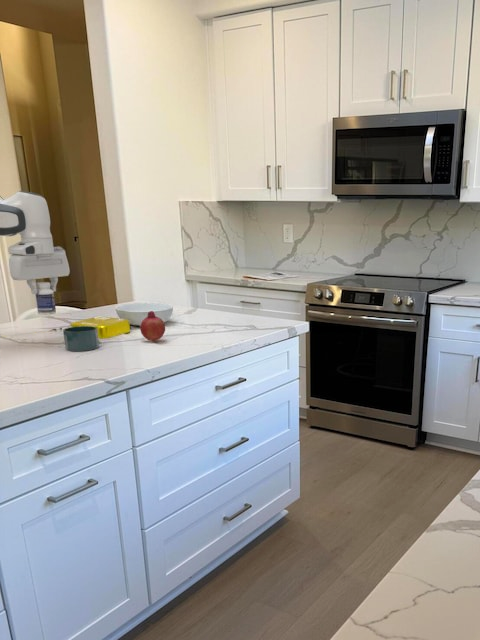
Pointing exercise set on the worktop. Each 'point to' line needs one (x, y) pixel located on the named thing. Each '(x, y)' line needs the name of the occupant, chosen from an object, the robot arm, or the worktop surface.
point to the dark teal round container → (81, 338)
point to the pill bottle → (45, 299)
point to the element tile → (105, 326)
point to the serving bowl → (143, 311)
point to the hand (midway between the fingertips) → (44, 292)
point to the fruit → (152, 327)
